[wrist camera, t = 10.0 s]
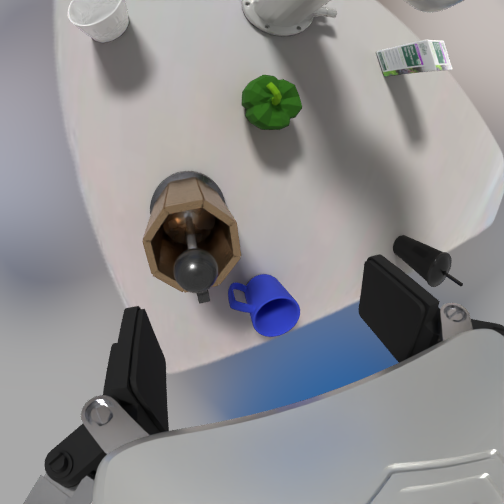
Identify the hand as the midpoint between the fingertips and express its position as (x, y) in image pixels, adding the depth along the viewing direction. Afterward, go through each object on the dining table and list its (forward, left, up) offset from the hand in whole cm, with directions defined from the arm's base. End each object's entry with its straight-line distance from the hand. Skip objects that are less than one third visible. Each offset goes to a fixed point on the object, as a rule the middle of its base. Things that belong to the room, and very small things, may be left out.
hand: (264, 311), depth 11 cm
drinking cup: (-42, +21, -37) cm, 60 cm away
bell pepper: (-11, -10, -37) cm, 40 cm away
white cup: (+12, -29, -37) cm, 48 cm away
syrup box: (-39, -20, -37) cm, 57 cm away
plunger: (+3, +5, -30) cm, 31 cm away
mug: (-6, +22, -37) cm, 43 cm away
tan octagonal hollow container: (+3, +6, -36) cm, 37 cm away
